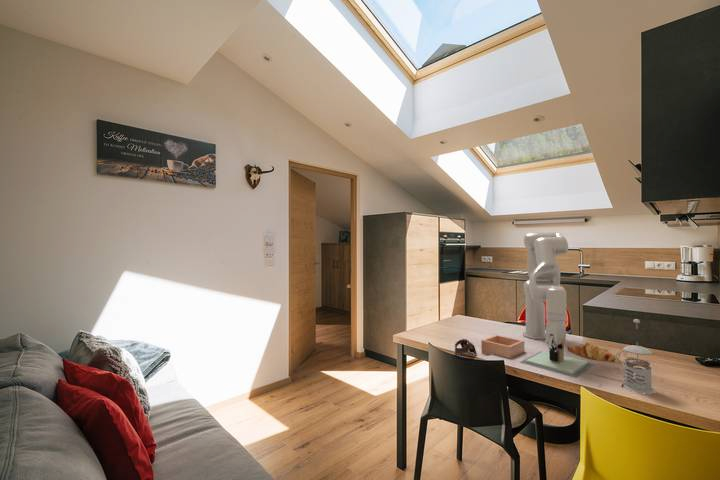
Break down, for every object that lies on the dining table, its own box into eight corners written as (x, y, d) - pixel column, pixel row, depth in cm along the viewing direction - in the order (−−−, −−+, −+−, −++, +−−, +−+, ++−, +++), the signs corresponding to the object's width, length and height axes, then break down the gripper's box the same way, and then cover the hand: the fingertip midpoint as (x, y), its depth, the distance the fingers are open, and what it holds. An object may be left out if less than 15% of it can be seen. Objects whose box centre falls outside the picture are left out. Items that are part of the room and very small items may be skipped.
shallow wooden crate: (496, 346, 172) (496, 334, 172) (524, 353, 162) (524, 340, 162) (481, 352, 163) (481, 340, 163) (510, 360, 153) (509, 347, 153)
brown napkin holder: (480, 359, 156) (473, 345, 155) (461, 367, 158) (454, 353, 156) (473, 344, 168) (466, 331, 166) (456, 352, 169) (449, 339, 168)
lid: (543, 353, 159) (543, 340, 159) (588, 363, 145) (587, 349, 145) (525, 362, 147) (525, 348, 147) (572, 374, 133) (572, 359, 133)
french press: (645, 396, 117) (644, 323, 117) (609, 383, 127) (608, 316, 128) (661, 391, 121) (660, 320, 121) (625, 379, 131) (624, 314, 131)
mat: (540, 353, 162) (540, 351, 162) (595, 366, 145) (595, 363, 145) (519, 364, 148) (519, 362, 148) (576, 380, 131) (576, 377, 131)
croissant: (622, 371, 148) (625, 353, 150) (616, 365, 142) (619, 347, 144) (569, 357, 164) (572, 341, 167) (561, 351, 159) (565, 335, 161)
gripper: (554, 312, 154) (555, 352, 154) (538, 318, 144) (538, 361, 144) (573, 315, 149) (573, 356, 149) (557, 321, 138) (558, 366, 138)
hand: (556, 358), depth 146 cm, fingers open, 5 cm apart
